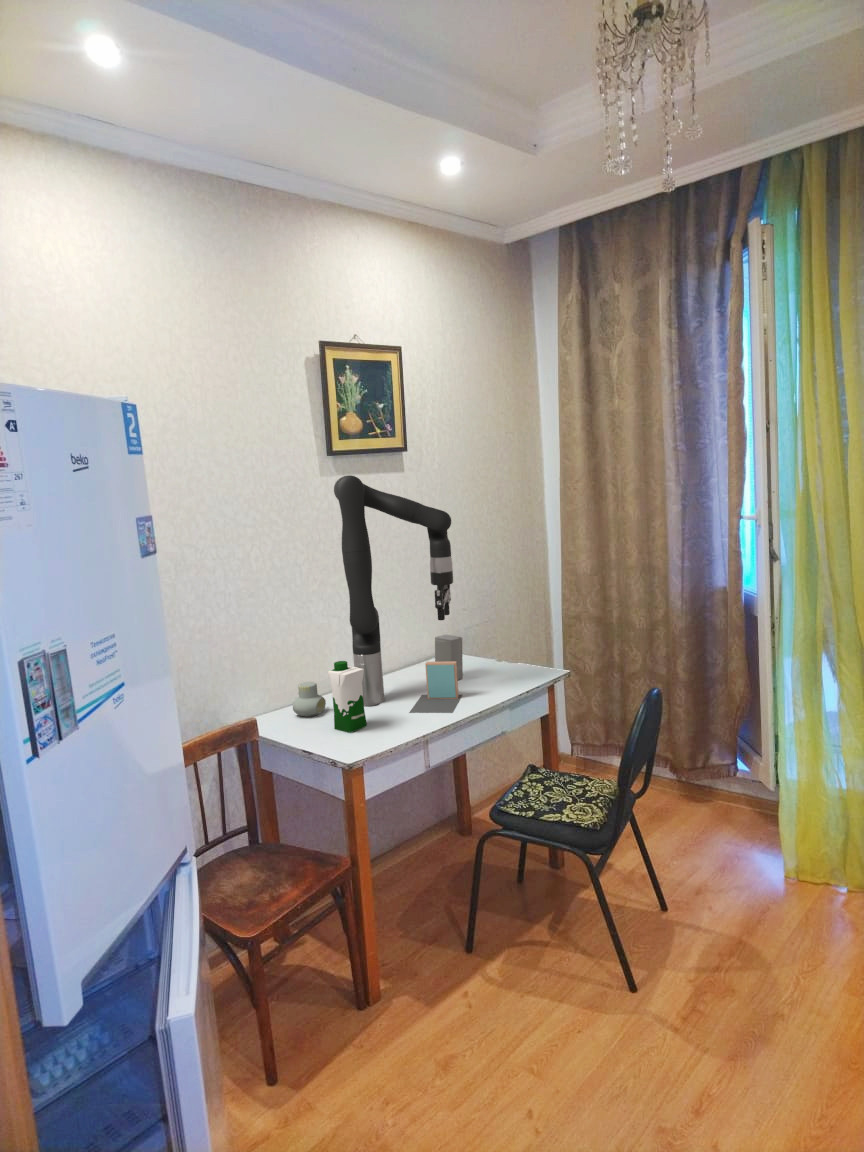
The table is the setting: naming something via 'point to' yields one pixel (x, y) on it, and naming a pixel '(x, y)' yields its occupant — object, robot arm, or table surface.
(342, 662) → the milk carton
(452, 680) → the glazed tile
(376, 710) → the table surface
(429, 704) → the rubber mat
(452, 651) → the skincare box
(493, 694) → the table surface
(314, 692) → the grey rounded piece
